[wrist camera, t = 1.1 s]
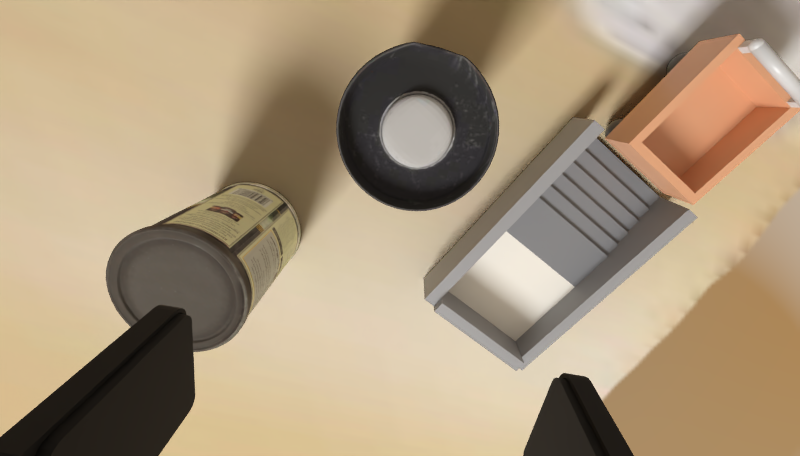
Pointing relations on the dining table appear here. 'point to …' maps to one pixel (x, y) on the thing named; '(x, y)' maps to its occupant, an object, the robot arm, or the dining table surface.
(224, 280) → the coffee can
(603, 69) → the dining table surface
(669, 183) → the orange drawer with handle
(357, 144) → the travel mug
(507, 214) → the drawer housing
